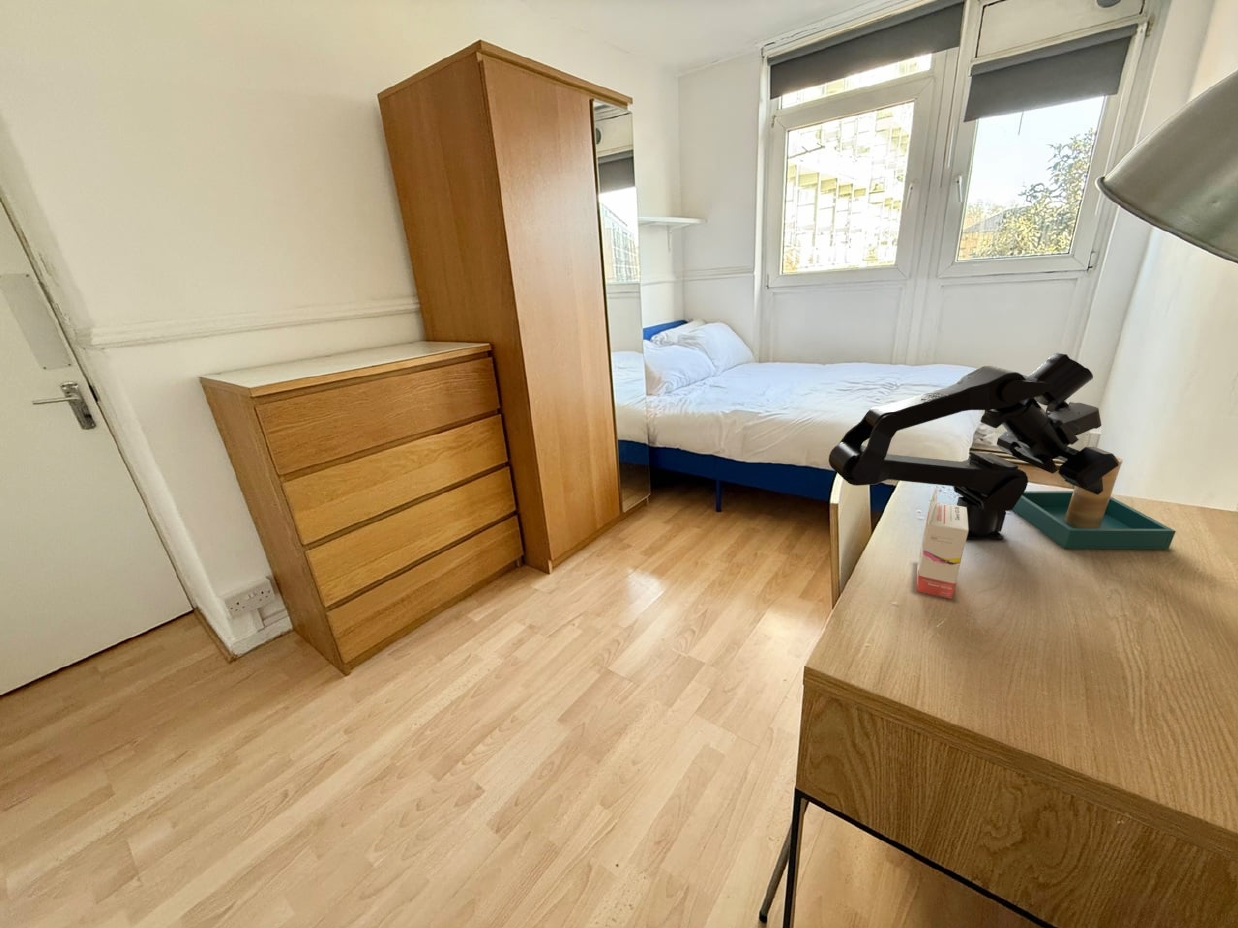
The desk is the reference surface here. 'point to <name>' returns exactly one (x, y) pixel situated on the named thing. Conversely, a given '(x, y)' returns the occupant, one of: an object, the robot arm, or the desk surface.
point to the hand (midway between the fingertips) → (1076, 481)
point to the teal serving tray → (1115, 531)
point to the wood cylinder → (1091, 503)
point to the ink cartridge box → (942, 548)
